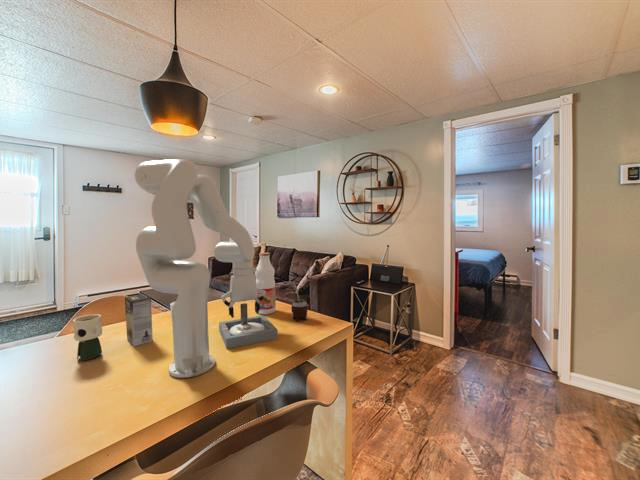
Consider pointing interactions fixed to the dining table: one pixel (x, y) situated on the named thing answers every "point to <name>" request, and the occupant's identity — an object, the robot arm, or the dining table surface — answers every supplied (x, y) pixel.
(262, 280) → the fruit juice
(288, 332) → the dining table surface
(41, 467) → the dining table surface
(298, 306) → the mate gourd
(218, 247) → the robot arm
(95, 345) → the character mug
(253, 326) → the dial
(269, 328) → the housing
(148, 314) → the coffee box
